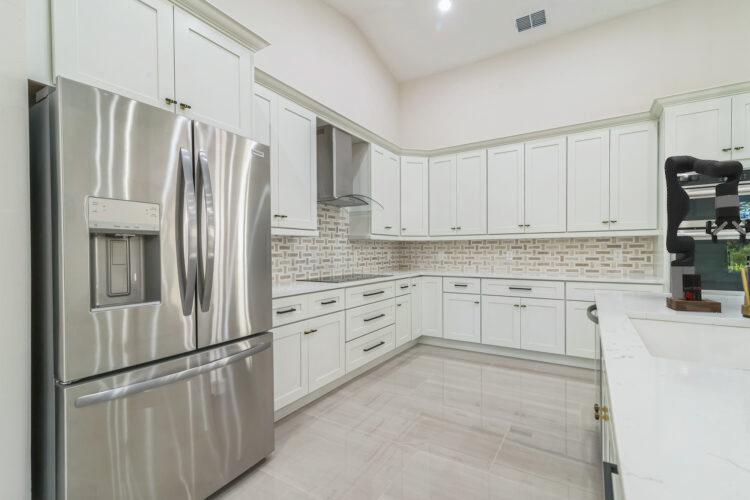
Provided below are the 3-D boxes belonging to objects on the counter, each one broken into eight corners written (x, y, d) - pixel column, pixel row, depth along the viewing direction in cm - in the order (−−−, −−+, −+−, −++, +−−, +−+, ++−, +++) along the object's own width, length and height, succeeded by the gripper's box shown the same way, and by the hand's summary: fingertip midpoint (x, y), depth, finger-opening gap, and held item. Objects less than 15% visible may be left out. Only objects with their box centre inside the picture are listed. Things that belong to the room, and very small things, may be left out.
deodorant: (706, 310, 145) (704, 274, 145) (691, 310, 145) (690, 274, 145) (693, 308, 151) (692, 273, 151) (679, 308, 151) (678, 274, 151)
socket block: (666, 306, 157) (666, 297, 157) (707, 308, 151) (706, 298, 151) (676, 310, 145) (676, 301, 145) (721, 312, 138) (721, 302, 138)
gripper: (745, 206, 151) (746, 243, 151) (702, 208, 158) (703, 244, 158) (754, 204, 145) (755, 242, 144) (709, 206, 151) (710, 243, 151)
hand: (728, 243), depth 151 cm, fingers open, 8 cm apart
